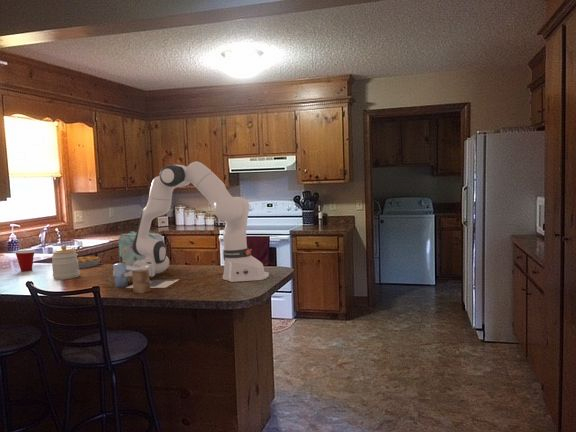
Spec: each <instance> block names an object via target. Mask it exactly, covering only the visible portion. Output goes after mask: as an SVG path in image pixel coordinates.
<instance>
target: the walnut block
mask: <svg viewBox="0 0 576 432" xmlns="http://www.w3.org/2000/svg"><path fill="white" fill-rule="evenodd" d="M131 277H132V284H133V288H132V290H133V293H135V294H144V293H147V292H151V288H150V280H151V279H150V277H149V270H148V269H138V270H135V271H132V276H131Z"/></svg>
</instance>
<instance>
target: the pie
mask: <svg viewBox="0 0 576 432" xmlns="http://www.w3.org/2000/svg"><path fill="white" fill-rule="evenodd" d="M77 260H78V265H79V269H83V268H84V269H85V268H90V267H91V268H92V267H94V266H95V267H96V266H98V265H99V263H100V261H101V257H100V256H95V255H92V256H90V255H86V256H79V257H78V256H77Z"/></svg>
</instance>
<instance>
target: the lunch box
mask: <svg viewBox="0 0 576 432" xmlns="http://www.w3.org/2000/svg"><path fill="white" fill-rule="evenodd" d="M136 234H137V232H135V230H134V231H132V230H131V231H129V233H123V234H121V235H120V236H119V238H118V240H117V241H118V251H117V254H118V261H119V263H126V265H129V266H133V265H134V263H135V262H136V261H138V260H142V259H145V258H146V256H142V255H137V254H135V252H134V251H133V246H132V245H133V241H134V239H135V237H136ZM148 236H149V238H152V239H156V240H160V241H163V242H164V243H165V241H164V237H163V236H162V234H160V233H157V232H156V233H154V232H152V233H151V232H149V234H148Z"/></svg>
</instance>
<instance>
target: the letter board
mask: <svg viewBox="0 0 576 432" xmlns="http://www.w3.org/2000/svg"><path fill="white" fill-rule="evenodd" d="M149 280H150V289H151V288H153V289H154V288H155V289H157V288H159V289H160V288H161V289H162V288H168V287H169V286H171V285H172V284H175V283H176V282H178V281H179V280H180V279H178V278H177V279H176V278H175V279H173V278H172V279H149ZM125 289H133V283H132V284H130V285H128V286H125Z"/></svg>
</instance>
